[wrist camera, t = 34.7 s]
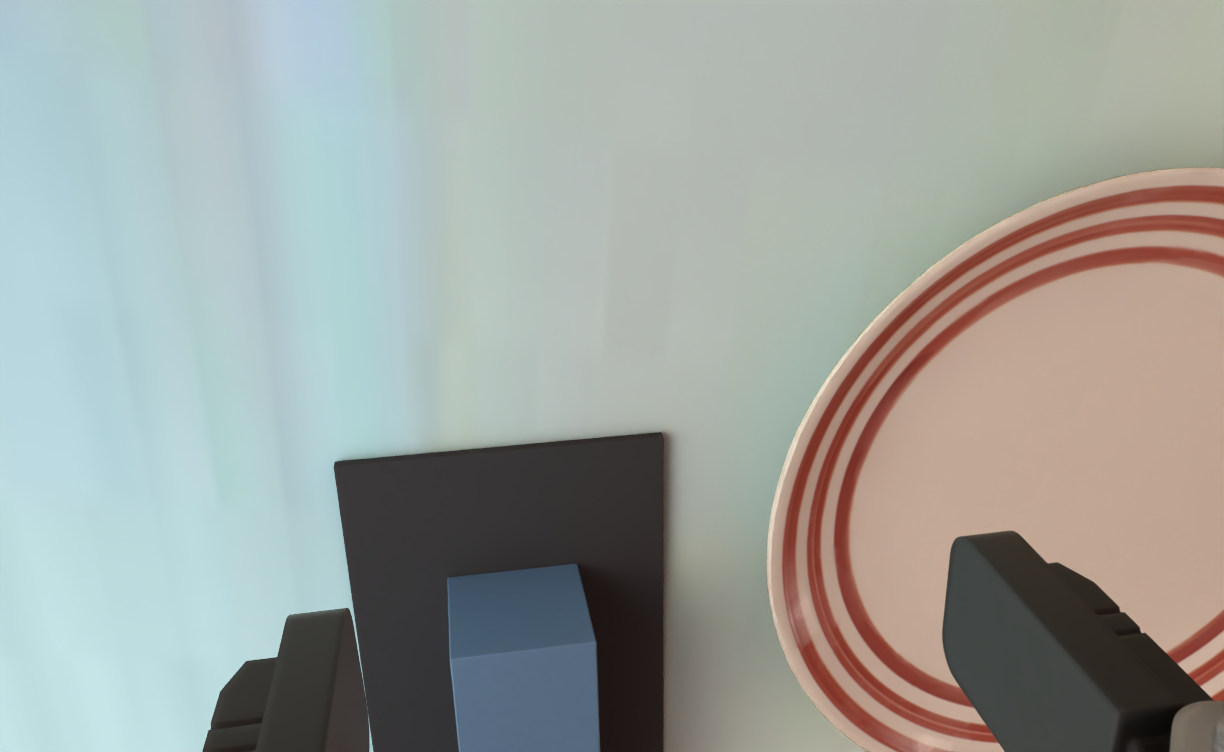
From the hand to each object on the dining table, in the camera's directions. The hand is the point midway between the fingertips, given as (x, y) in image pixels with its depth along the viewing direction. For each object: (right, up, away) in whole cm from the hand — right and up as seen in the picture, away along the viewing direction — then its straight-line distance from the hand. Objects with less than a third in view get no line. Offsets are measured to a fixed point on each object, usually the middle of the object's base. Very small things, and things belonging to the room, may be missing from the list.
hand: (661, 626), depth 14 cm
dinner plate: (+18, -1, +29) cm, 35 cm away
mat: (-5, -8, +28) cm, 29 cm away
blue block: (-4, -16, +28) cm, 33 cm away
